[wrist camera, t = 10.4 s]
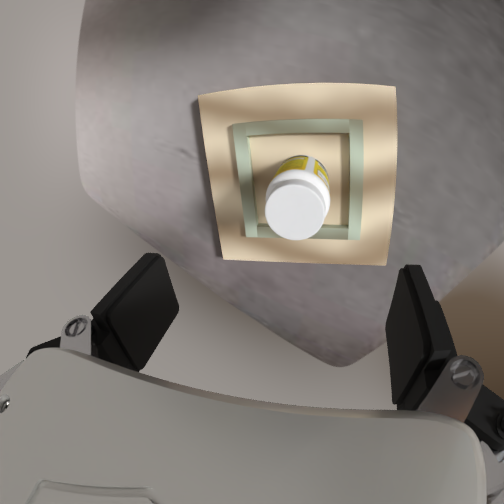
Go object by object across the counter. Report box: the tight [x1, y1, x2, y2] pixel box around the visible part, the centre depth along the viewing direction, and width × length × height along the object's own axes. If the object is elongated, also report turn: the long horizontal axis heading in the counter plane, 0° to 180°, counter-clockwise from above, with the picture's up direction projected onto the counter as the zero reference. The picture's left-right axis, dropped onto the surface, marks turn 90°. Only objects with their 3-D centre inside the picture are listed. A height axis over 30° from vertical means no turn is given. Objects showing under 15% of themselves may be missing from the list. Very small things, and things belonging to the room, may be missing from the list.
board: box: [198, 83, 397, 265], centre depth 25 cm, size 18×18×2 cm
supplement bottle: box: [265, 155, 330, 240], centre depth 21 cm, size 5×5×8 cm
